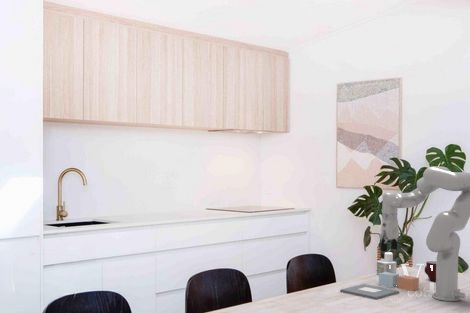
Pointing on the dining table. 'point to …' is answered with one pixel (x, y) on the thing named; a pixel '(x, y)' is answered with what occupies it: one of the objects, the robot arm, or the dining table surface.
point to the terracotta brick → (408, 283)
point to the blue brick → (388, 279)
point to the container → (386, 263)
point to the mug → (428, 270)
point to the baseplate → (369, 291)
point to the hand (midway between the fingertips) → (389, 250)
